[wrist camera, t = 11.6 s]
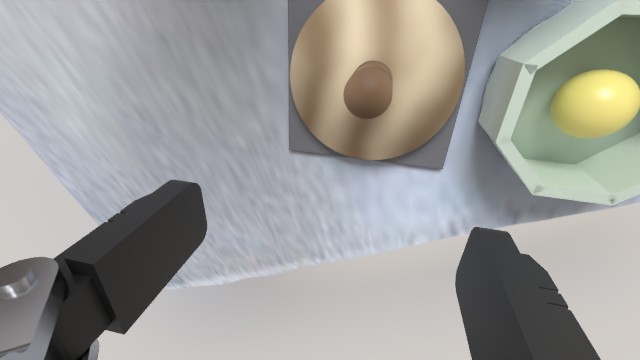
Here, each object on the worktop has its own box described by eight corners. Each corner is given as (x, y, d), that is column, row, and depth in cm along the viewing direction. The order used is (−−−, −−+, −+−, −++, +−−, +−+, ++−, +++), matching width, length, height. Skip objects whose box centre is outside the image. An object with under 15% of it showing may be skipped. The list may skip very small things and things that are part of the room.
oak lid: (293, 146, 36) (273, 173, 30) (292, -21, 28) (264, -33, 22) (439, 164, 33) (450, 197, 27) (485, -17, 25) (516, -28, 19)
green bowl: (463, 157, 33) (479, 187, 27) (511, -1, 26) (547, -7, 20) (617, 175, 31) (672, 213, 25) (718, 6, 23) (831, 2, 17)
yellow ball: (529, 123, 29) (556, 144, 24) (554, 62, 26) (589, 72, 22) (594, 129, 28) (635, 152, 23) (626, 67, 26) (680, 78, 21)
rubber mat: (290, 147, 37) (289, 149, 37) (289, -28, 28) (288, -29, 28) (441, 166, 34) (442, 169, 34) (492, -23, 25) (494, -23, 25)
